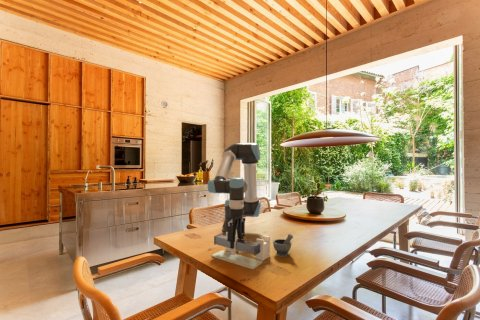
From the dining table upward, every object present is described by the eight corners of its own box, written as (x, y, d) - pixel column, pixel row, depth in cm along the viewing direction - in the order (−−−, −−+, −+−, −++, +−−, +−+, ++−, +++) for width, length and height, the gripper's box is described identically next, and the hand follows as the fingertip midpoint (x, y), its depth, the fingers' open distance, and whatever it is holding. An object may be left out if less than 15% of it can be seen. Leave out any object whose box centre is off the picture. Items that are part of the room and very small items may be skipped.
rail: (214, 244, 130) (214, 236, 130) (219, 242, 134) (219, 234, 135) (255, 255, 116) (255, 246, 116) (260, 252, 120) (260, 243, 120)
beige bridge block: (225, 250, 137) (226, 232, 137) (233, 246, 144) (234, 229, 144) (231, 252, 135) (231, 233, 135) (239, 248, 141) (239, 230, 141)
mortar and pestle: (269, 254, 132) (270, 232, 132) (278, 250, 139) (278, 229, 139) (288, 260, 125) (288, 236, 125) (296, 254, 132) (296, 232, 132)
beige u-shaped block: (256, 259, 126) (256, 238, 126) (263, 254, 132) (263, 235, 132) (262, 260, 124) (262, 240, 124) (269, 256, 130) (269, 236, 130)
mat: (211, 256, 129) (211, 255, 129) (222, 251, 136) (222, 250, 136) (252, 269, 114) (252, 267, 114) (262, 262, 121) (262, 261, 121)
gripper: (232, 211, 116) (231, 260, 116) (251, 206, 130) (251, 249, 130) (220, 209, 120) (219, 256, 120) (240, 204, 135) (239, 246, 134)
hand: (236, 252), depth 125 cm, fingers closed on rail, 4 cm apart
